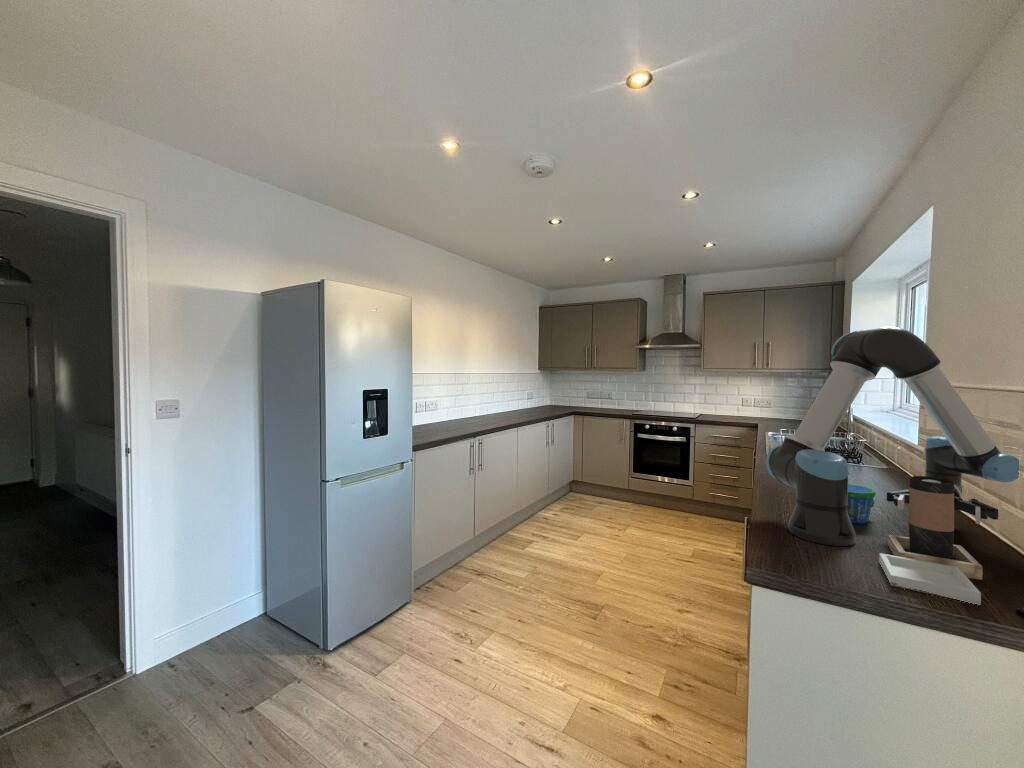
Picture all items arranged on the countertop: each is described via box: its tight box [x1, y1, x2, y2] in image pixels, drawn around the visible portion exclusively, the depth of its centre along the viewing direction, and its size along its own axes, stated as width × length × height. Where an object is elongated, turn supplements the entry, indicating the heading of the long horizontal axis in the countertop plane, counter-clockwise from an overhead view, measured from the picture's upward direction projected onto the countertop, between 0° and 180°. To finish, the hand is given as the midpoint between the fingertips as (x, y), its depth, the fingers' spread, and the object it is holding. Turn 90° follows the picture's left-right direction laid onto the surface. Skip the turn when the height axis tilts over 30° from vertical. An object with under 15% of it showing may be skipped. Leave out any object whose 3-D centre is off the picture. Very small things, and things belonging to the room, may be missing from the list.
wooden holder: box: [887, 533, 984, 581], centre depth 98 cm, size 13×13×3 cm
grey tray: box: [878, 552, 982, 606], centre depth 88 cm, size 13×13×2 cm
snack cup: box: [847, 483, 877, 524], centre depth 126 cm, size 16×10×10 cm
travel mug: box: [908, 475, 955, 560], centre depth 98 cm, size 8×8×20 cm
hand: (936, 511), depth 101 cm, fingers open, 13 cm apart
